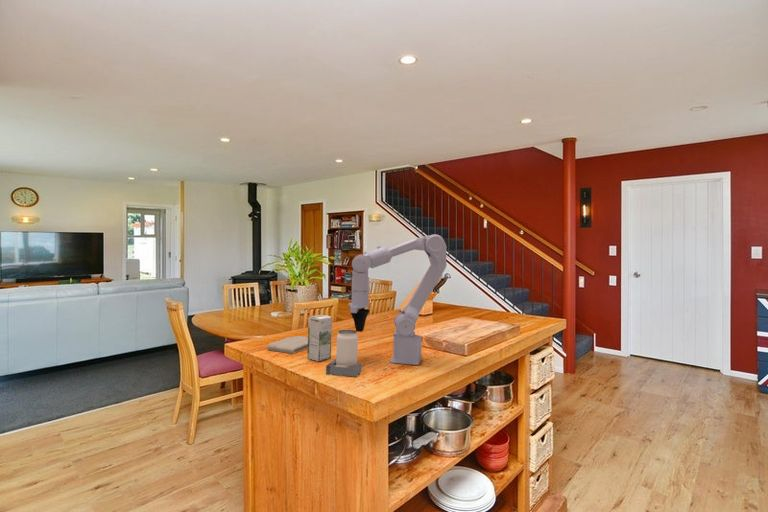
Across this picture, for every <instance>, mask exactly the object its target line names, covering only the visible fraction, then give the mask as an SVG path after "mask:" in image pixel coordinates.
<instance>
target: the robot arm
mask: <svg viewBox="0 0 768 512" xmlns="http://www.w3.org/2000/svg"><path fill="white" fill-rule="evenodd" d="M447 248H448V246H447V244H446V241H445V240H444V238H443V237H442V236H441V235H439V234H435V233H434V234H429V235H426V236H422V237H415V238H412V239H409V240H408V241H407V240H406V241H405V242H402V243H400V244H398V245H397V244H396V245H394V246H392V247H387V246H385V245H383V246H381V245H378V246H376V248H375V249H372V250H370V251H363V254H358V255H356V256H355V257H354V258H353V259H352V261H351V268H352V269H353V270H352V272H351V273H352V277H351V302H349V303H348V304H347V305H348V307H349V308H350V309H349V310H350V311H349V312H350V315H351V317H352V319H353V323H354V329H355V331H357V333H358V332H360V333H362V332H364V330H365V325H366V321H367V318H368V315H369V313H370V309H369V307H370V303H369V302H370V301H369V297H370V295H369V293H370V292H369V291H370V290H369V289H370V277H369V269H370V268H371V269H375V268H378V267H380V266H382V265H385V264H388V263H390V262H391V260H392V258H393V257H396V256H399V255H402V254H405V253H408V252H411V251H414V250H416V251H424V252H425V254H426V255H427V256H428V257H427V258H428V260H429V263H430V265H429V267H428V268H427V270H426V272H425V274H424V276H423V278H422V279H421V281H420V282H419V284H418V286H417V288H416V289H415V291H414V293H413V294H412V295H411V298H410V299H409V301H408V303H407V304H406V306H404V308H403V309H402V311H401V312H399V313H398V314H396V316H395V318H394V322H393V323H394V326H395V330H394V332H393V342H392V343H393V348H392V349H393V350H392V353H393V354H392V357H391V359H390V361H389V363H391V364H403V365H413V366H414V365H415V366H418V365H419V364H420V362H421V361H422V345H423V343H422V336H421V335H416V333H415V329H416V323H417V321H418V319H419V316H420V312H421V311H422V309H423V307H424V306H425V304H426V302H427V300H429V298H430V295H431V294H432V292H433V290H434V288H435V287H436V286H437V283H438V282H439V280H440V279H441V277H442V275H443V273H444V271H445V270H446V268H447Z"/></svg>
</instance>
